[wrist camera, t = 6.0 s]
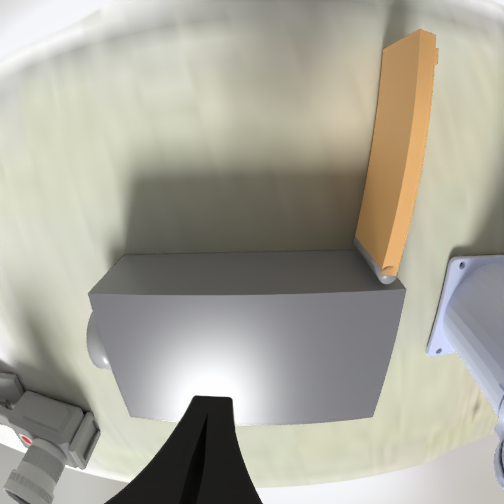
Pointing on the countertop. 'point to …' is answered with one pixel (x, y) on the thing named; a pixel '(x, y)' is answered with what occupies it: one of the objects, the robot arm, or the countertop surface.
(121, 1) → the countertop surface
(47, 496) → the camera
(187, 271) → the camera case
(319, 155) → the countertop surface
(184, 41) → the countertop surface
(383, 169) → the case door
